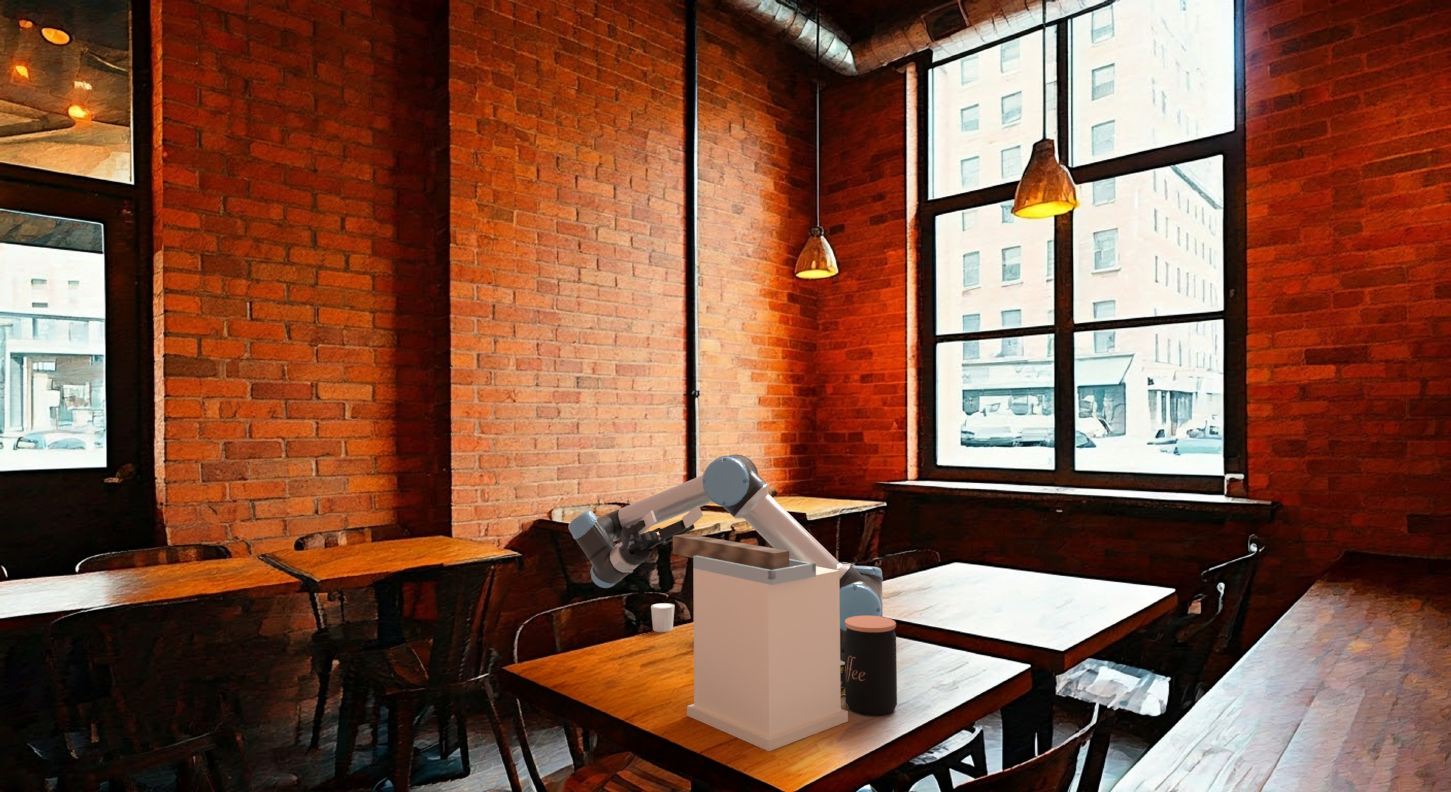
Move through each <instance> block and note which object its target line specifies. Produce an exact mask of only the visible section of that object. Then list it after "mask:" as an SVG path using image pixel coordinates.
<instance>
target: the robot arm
mask: <svg viewBox="0 0 1451 792" xmlns="http://www.w3.org/2000/svg"><path fill="white" fill-rule="evenodd" d="M758 471H759V470H758V468H757V466H756V464H755V463H754V462H753V461H752V460H751V459H750V458H749V457H747V456H745V455H742V454H738V453H737V454H730V455H723V456H719V457H717V458H715V459H714V460H712V461H711V462H710V463H709V464H708V465H707V466H706V468H705V470H704V471H703V474H702V475H700V476H698V477H694V478H693V479H690V480H688V481H685V482H683V483H681V484H677V485H676V486H673V487H671V488H668V489H666V490H663V491H661V492H658V493H656V494H653V495H651V496H649V497H646V498H644V499H641V500H638V501H636V502H634V503H632V504H628V505H626V506H624V507H622V508H619V509H616V510H614V511H612V512H610V513H606V514H603V515H601V516H599V517H598V516H597V515H595V513H594V512H593V511H592V510H586V511H584V512H581V513H580V514H579V515H577V516H576V517H574V519H572V520H571V521H570V522H569V524H568V530H569V532H570V534H571V535H572V538H573V539H574V540H575V542H576V543H577V545H579V547H580V549H581V550H582V552H584V554H585V556H586V557H587V559H588V560H589V562H590V564H591V565H592V566H591V568H590V576H591V577H590V578H591V580H592V582H593V583H594V584H595V585H596V586H598V588H599V587H600V588H603V589H608V588H612V587H614V586H615V585H616V584H618V583H619V582H621V581H622V580H623V579H624V578H625V577H626V576H628V575H629V574H632V573H633V572H634V570H635V569H636V568H637V567H638V566H640V565H641V564H643V563H644V562H645V561H646V560H647V559H649V558H650V557H651V555H652V552H653V548H656V547H657V546H658V545H662V546H665V545H667V544H668V543H670V542H673V536H675V535H683V534H688V532H690V531H692V530H695V529H696V528H695V523H696V522H697V521H699V520H700V519H701V518H702V517H704V515H703V512H702V510H701V508H702V507H704V506H707V505H709V504H711V503H714V504H716V505H717V506H719V507H723V508H724V510H726V511H727V513H729V514H730V515H731V516H732V518H734V519H743V520H745V522H747V523H748V524H749V525H750V526H751V527H752V528H753V529H754V530H755V531H756V532H757V533H758V534H759V536H761V537H762V538H763V539H764V540H765V541H766V542H767V543H768V544H769V545H770V546H771V548H774V549H780V550H787V551H789V559H793V560H799V561H804V562H810V563H816V566H817V567H822V568H828V569H833V570H839V585H840V660H841V661H843V662H845V631H846V630H847V627H846V626H845V620H846V619H847V618H850V617H854V616H880V617H884V616H883V615H884V613H883V581H884V578H883V571H882V569H881V568H880V567H877V566H869V565H868V566H867V565H852V564H851V563H842V562H840V561H839V560H838V559H837V558H835V556H833V555H832V554H831V553H830V552H829V551H828V549H826V548H825V547H824V546H823V545H822V544H821V543H820V542H819V541H818V540H817V539H816V538H815V537H814V536H813V535H811V533H810V532H808V530H806V529H805V528H804V526H803V525H802V524H800V522H798V521H797V520H796V519H795V518H794V516H792V515H791V513H789V512H788V511H787V510H786V509H785V508H784V507H783V506H782V505H781V504H780V503H779V502H778V501H777V500H776V499H774V497H773V496H772V495H771V494H770V493H769V484H768V483H767V482H766V481H765V480H764V479H763V478H762V477H761V476H760V475H759V472H758ZM683 514H685V515H683ZM682 515H683V516H682ZM679 516H682V519H681V520H678V521H677V522H676V521H675V522H674V523H672V524H668V525H667V526H664V527H662V528H661V527H657V528H655V529H653V530H649V529H650V528H651V527H653V526H656V525H658V524H661V523H664V522H665V521H668V520H671V519H673V518H677V517H679ZM658 534H659V535H658ZM615 542H617V544H615Z"/></svg>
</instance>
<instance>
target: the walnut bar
mask: <svg viewBox="0 0 1451 792" xmlns="http://www.w3.org/2000/svg"><path fill="white" fill-rule="evenodd" d="M672 554H673V555H676V556H681V557H687V558H691V559H693V556H702V557H708V558H713V559H718V560H723V561H728V562H733V563H738V564H744V565H749V566H754V567H759V568H764V569H769V570H774V569H780V568H786V567H789V551H787V550H780V549H774V548H773V547H769V546H768V547H767V546H762V545H756V544H755V545H754V544H750V543H743V542H739V541H738V542H737V541H731V540H725V539H720V538H719V539H718V538H714V537H708V536H707V537H706V536H701V535H696V534H695V535H694V534H689V533H685V534H683V535H675V536H673V540H672Z"/></svg>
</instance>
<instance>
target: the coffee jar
mask: <svg viewBox="0 0 1451 792" xmlns="http://www.w3.org/2000/svg"><path fill="white" fill-rule="evenodd" d="M845 626H846V627H847V630H846V631H845V695H844V696H845V698H844V700H845V704H846V706H847V707H848V709H849V710H850V711H851V712H853V713H855V714H857V715H861V716H867V717H881V716H887V715H890V714H891V713H893V712H894V710H895V709H896V707H897V704H898V687H897V686H898V684H897V682H898V680H897V674H898V673H897V668H898V667H897V663H898V662H897V634H896V632H895V628H897V627H896V626H897V622H896V621H895V620H894V619H892V618H889V617H885V616H883V617H880V616H854V617H850V618H847V619H846V620H845Z"/></svg>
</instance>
